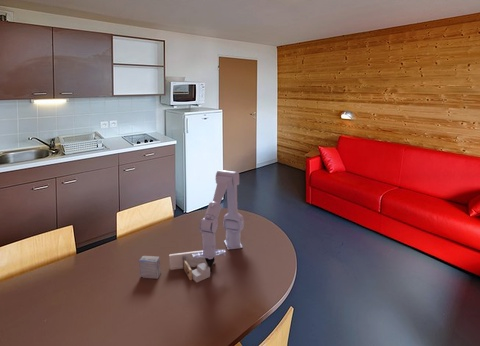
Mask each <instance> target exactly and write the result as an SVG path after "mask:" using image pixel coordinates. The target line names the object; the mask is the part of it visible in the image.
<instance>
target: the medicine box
mask: <svg viewBox="0 0 480 346" xmlns="http://www.w3.org/2000/svg"><path fill="white" fill-rule="evenodd" d="M138 265H139V266H138V267H139V276H140V278H141V277H143V278H142V279H157V280H158V279H159V277H160V275H161V274H162V270H161V269H162V268H161V257H160V256H154V255H142V256H141V258H139V260H138Z"/></svg>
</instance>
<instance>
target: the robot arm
mask: <svg viewBox="0 0 480 346" xmlns="http://www.w3.org/2000/svg"><path fill="white" fill-rule="evenodd" d="M215 183H216V187H215V191H214V194H213V198H212V201H210V202H209V203H208V206H207V208H206V211H205V215H204V217H203V218H201V220H200V221H199V227H198V228H199V229H198V230H199V231H200V234H201V237H202V238H201V241H202V250H203V251H202V252H199V253H196V254H193V260H196V259H200V258H205V260H206V262H207V264H208V265H207V266H209V267H210V273H212V272H213V271H212V270H213V269H212V268H213V267H212V266H213V265H214V264H213V262H214V260H215V261H216V257H219V256H220V257H221V256H223V257H224V256H225V257H226V255H227V254H226V252H227V251H226V249H227V250H235V249H241V248H242V249H243V247H244V246H243V244H242V243H241V232H242V231H243V229H244V227H245V220H244V216H243V215H242V214H241V213H240V212H239V211H238V186H239V185H240V173H239V172H238V171H232V170H225V169H224V170H223V169H218V170H217V171H216V173H215ZM225 194H226V198H227V199H226V200H227V203H226V204H227V213H225V214H224V215H223V222H222V226H223V228H224V229H225V240H223V242H224V244H225V247H226V249H216V246H217V245H216V231H217V230H218V228H219V227H218V226H219V219H218V218H219V216H220V213H221V209H222V205H221V203H222V200H223V199H224V195H225ZM214 257H215V259H214Z"/></svg>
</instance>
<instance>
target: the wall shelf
mask: <svg viewBox="0 0 480 346" xmlns="http://www.w3.org/2000/svg"><path fill="white" fill-rule="evenodd" d="M202 251H203V249H202V250H194V251H186V252H178V253H170V254H168V256H169V269H170V271H174V270H181V269H183V270H184V260H186V261H187V263H188V264H189V266H190V268H195V267H196V268H197V265H199V264H202V263H205V264H206V265H207V266H208V264H207V262H206V260H205V258H200V259H196V260H193V254H196V253H199V252H202ZM214 259H215V260H214V262H213V264H212V265H216V257H214Z"/></svg>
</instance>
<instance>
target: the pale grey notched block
mask: <svg viewBox="0 0 480 346" xmlns="http://www.w3.org/2000/svg"><path fill="white" fill-rule="evenodd" d="M210 277H211V272H210V267H209V266H208V265H206V264H205V263H202V264H199V265H197V266H196V268H195V269H192V280H193V281H194V282H195V283H196V284H197V283H199V282H201V281H203V280H205V279H208V278H210Z"/></svg>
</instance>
